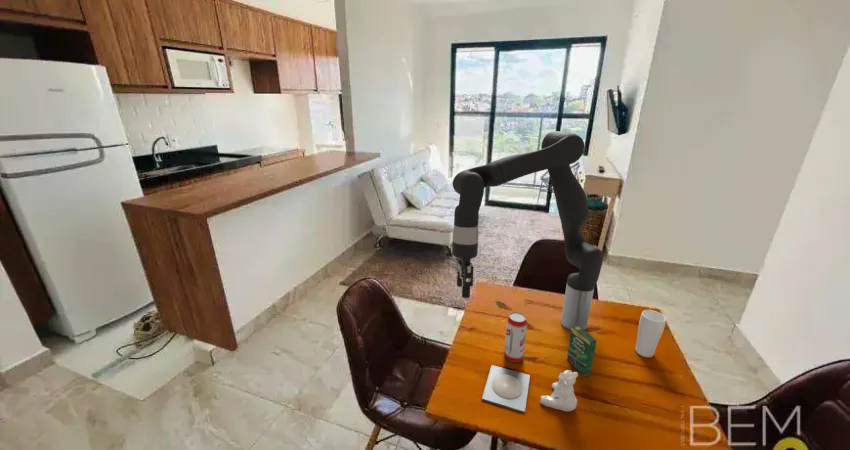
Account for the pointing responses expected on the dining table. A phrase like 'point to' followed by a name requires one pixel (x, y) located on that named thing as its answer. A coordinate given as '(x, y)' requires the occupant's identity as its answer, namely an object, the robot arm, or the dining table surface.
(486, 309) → the dining table surface
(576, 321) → the robot arm
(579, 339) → the coffee box
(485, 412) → the dining table surface
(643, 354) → the drinking glass
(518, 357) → the beer can
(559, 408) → the seated beast figurine
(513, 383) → the card
